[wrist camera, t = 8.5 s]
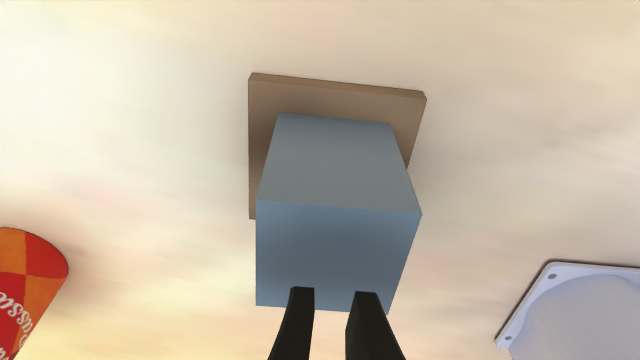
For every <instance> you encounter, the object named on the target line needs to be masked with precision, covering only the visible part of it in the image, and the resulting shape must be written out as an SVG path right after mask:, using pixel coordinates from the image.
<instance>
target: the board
mask: <svg viewBox="0 0 640 360" xmlns="http://www.w3.org/2000/svg"><path fill="white" fill-rule="evenodd" d="M426 102H427V98H426V96H425V95H424V93H423V92H422V91H415V90H405V89H396V88H387V87H378V86H369V85H359V84H350V83H341V82H332V81H323V80H314V79H304V78H295V77H286V76H277V75H268V74H259V73H252V74H251V75H250V77H249V79H248V135H249V219H254V220H256V197H257V193H258V189H259V185H260V181H261V178H262V174H263V170H264V166H265V162H266V159H267V155H268V151H269V147H270V143H271V139H272V136H273V132H274V128H275V124H276V120H277V117H278V113H289V114H299V115H310V116H320V117H330V118H340V119H350V120H360V121H371V122H381V123H390V125H391V128H392V131H393V134H394V137H395V139H396V142H397V145H398V148H399V150H400V153H401V156H402V159H403V162H404V164H405V167H406V170H407V167H408V164H409V160H410V157H411V154H412V150H413V147H414V143H415V140H416V136H417V133H418V130H419V126H420V123H421V119H422V116H423V112H424V109H425V106H426Z"/></svg>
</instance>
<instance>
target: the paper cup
mask: <svg viewBox="0 0 640 360" xmlns="http://www.w3.org/2000/svg"><path fill="white" fill-rule="evenodd" d="M67 274H68V264H67V262H66V260H65V258H64V257H63V255H62V254H61V253H60V252H59V251H58V250H57V249H56V248H55V247H54V246H53V245H51V244H50V243H48V242H47V241H45V240H44V239H42V238H40V237H38V236H36V235H34V234H31V233H28V232H25V231H22V230H18V229H12V228H0V360H13V359H14V358H15V356H16V355H17V353H18V352H19V350H20V349H21V347H22V346H23V344H24V343H25V341H26V340H27V338H28V337H29V335H30V334H31V332H32V330H33V329H34V327H35V326H36V324H37V323H38V321H39V320H40V318H41V317H42V315H43V314H44V312H45V311H46V309H47V308H48V306H49V305H50V303H51V301H52V300H53V298H54V297H55V295H56V294H57V292H58V290H59V289H60V287H61V286H62V284H63V282H64V281H65V279H66V277H67Z"/></svg>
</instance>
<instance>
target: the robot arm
mask: <svg viewBox="0 0 640 360" xmlns="http://www.w3.org/2000/svg"><path fill="white" fill-rule="evenodd" d="M314 313H315V291H314V288H313V287H300V286H294V287H292V288H290V294H289V299H288V303H287V307H286V311H285V314H284V318H283V321H282V324H281V326H280V329H279V332H278V335H277V337H276V340H275V342H274V345H273V347H272V350H271V352H270V355H269V357H268V360H309V353H310V345H311V337H312V329H313V321H314ZM495 344H496V346H497V347H498V348H500V349H508V350H509V352H510V354H511V357H512V359H513V360H640V269H636V268H624V267H612V266H601V265H589V264H577V263H565V262H551V263H549V264H547V265H546V267H545V268H544V270H543V271H542V273H541V274H540V275H539V277H538V278H537V280H536V281H535V283H534V284H533V286H532V287H531V289H530V290H529V292H528V293H527V295H526V296H525V298H524V299H523V301H522V302H521V303H520V305H519V306H518V308H517V309H516V311H515V312H514V314H513V315H512V317H511V318H510V320H509V321H508V323H507V324H506V326H505V327H504V329H503V330H502V332H501V333H500V334H499V336H498V337H497V339H496V340H495ZM345 354H346V360H406V359H405V357H404V355H403V353H402V351H401V349H400V347H399V345H398V342H397V340H396V338H395V336H394V334H393V331H392V329H391V327H390V325H389V322H388V320H387V318H386V315H385V313H384V310H383V307H382V305H381V302H380V300H379V297H378V295H377V294H376V293H375V292H364V291H355V294H354V298H353V302H352V306H351V310H350V314H349V318H348V322H347V326H346V330H345Z"/></svg>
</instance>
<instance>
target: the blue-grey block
mask: <svg viewBox="0 0 640 360" xmlns="http://www.w3.org/2000/svg"><path fill="white" fill-rule="evenodd" d="M421 216H422V212H421V209H420V206H419V204H418V201H417V198H416V195H415V192H414V190H413V187H412V184H411V181H410V178H409V176H408V173H407V170H406V167H405V164H404V162H403V159H402V156H401V153H400V150H399V148H398V145H397V142H396V139H395V137H394V134H393V131H392V128H391V125H390V123H381V122H371V121H360V120H350V119H340V118H330V117H320V116H310V115H299V114H289V113H278V117H277V120H276V124H275V128H274V132H273V136H272V139H271V143H270V147H269V151H268V155H267V159H266V162H265V166H264V170H263V174H262V178H261V181H260V185H259V189H258V193H257V197H256V306H270V307H285V308H286V307H287V303H288V299H289V294H290V288H292V287H294V286H300V287H313V288H314V291H315V310H327V311H341V312H350V310H351V306H352V302H353V298H354V294H355V291H364V292H375V293H376V294H377V295H378V297H379V300H380V302H381V305H382V307H383V310H384V313H385V315H388V312H389V309H390V306H391V304H392V301H393V298H394V295H395V292H396V289H397V286H398V283H399V280H400V277H401V274H402V271H403V268H404V266H405V263H406V260H407V257H408V254H409V251H410V248H411V245H412V242H413V239H414V236H415V233H416V231H417V228H418V225H419V222H420V219H421Z"/></svg>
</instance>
